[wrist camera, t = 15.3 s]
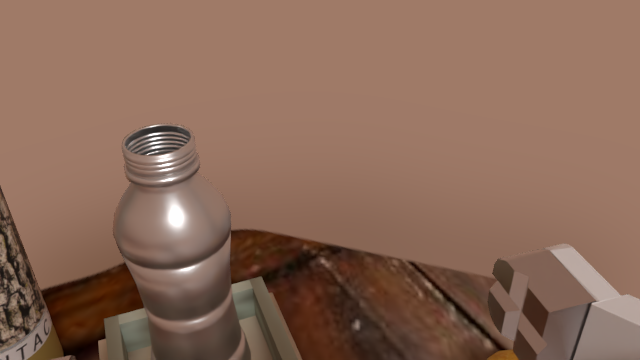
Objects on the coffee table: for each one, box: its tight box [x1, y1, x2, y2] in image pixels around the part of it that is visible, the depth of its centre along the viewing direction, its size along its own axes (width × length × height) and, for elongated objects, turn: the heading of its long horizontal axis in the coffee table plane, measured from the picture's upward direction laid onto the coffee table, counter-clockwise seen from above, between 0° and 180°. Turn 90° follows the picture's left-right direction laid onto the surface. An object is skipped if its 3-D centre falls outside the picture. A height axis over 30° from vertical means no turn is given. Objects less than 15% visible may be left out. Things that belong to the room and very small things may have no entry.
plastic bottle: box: [113, 124, 251, 360], centre depth 36 cm, size 6×7×20 cm
